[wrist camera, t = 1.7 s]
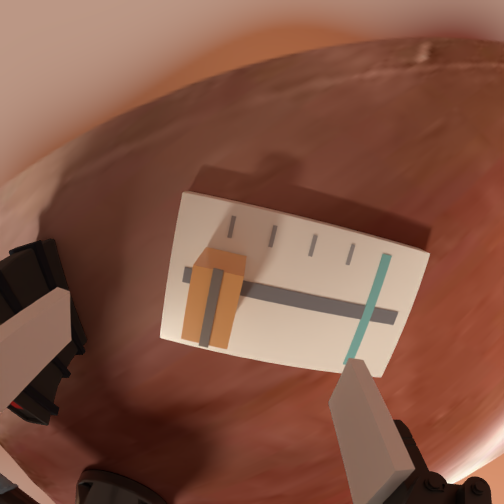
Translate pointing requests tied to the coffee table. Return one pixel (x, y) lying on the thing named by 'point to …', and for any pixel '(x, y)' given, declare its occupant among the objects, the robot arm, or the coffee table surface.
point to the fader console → (297, 285)
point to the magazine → (21, 296)
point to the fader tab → (213, 297)
